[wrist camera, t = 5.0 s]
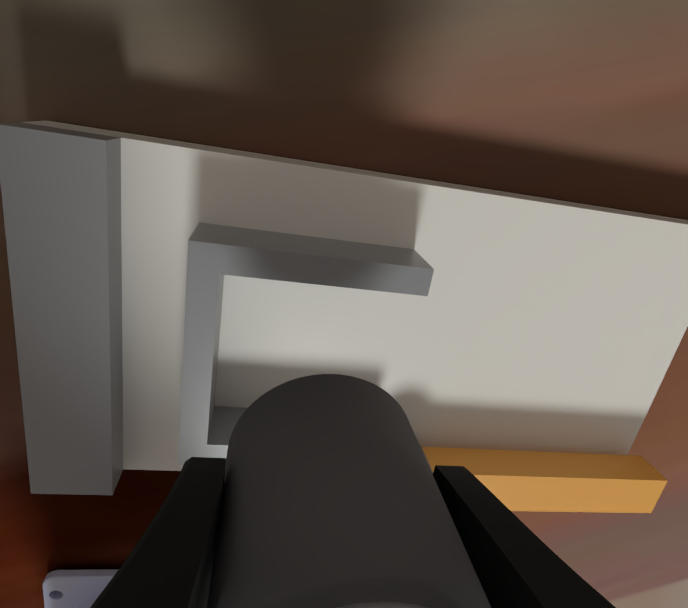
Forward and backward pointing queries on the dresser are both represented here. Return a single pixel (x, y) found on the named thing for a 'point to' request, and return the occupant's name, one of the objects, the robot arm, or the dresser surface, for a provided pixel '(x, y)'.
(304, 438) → the plug
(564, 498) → the orange-brown long box
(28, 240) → the white tray
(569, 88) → the dresser surface
